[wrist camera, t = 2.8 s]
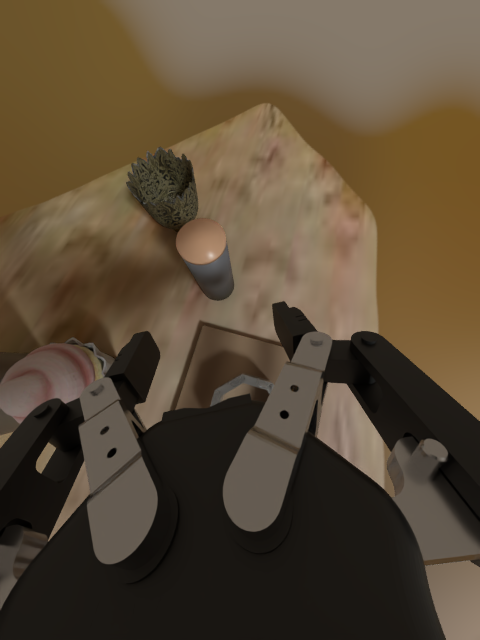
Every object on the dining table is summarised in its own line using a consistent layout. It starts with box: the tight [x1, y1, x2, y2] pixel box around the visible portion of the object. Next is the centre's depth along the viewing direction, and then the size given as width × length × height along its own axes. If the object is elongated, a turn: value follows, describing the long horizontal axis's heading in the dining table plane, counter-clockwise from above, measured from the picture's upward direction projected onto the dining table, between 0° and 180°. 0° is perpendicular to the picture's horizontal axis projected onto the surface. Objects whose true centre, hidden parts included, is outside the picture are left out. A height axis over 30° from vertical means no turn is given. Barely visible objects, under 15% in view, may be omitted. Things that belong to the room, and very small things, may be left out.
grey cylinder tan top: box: [176, 218, 234, 301], centre depth 22 cm, size 4×4×10 cm
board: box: [175, 325, 322, 437], centre depth 22 cm, size 16×16×1 cm
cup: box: [126, 147, 198, 232], centre depth 25 cm, size 8×7×8 cm
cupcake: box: [0, 337, 115, 424], centre depth 20 cm, size 9×9×10 cm
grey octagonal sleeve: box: [210, 373, 274, 407], centre depth 20 cm, size 8×8×4 cm
